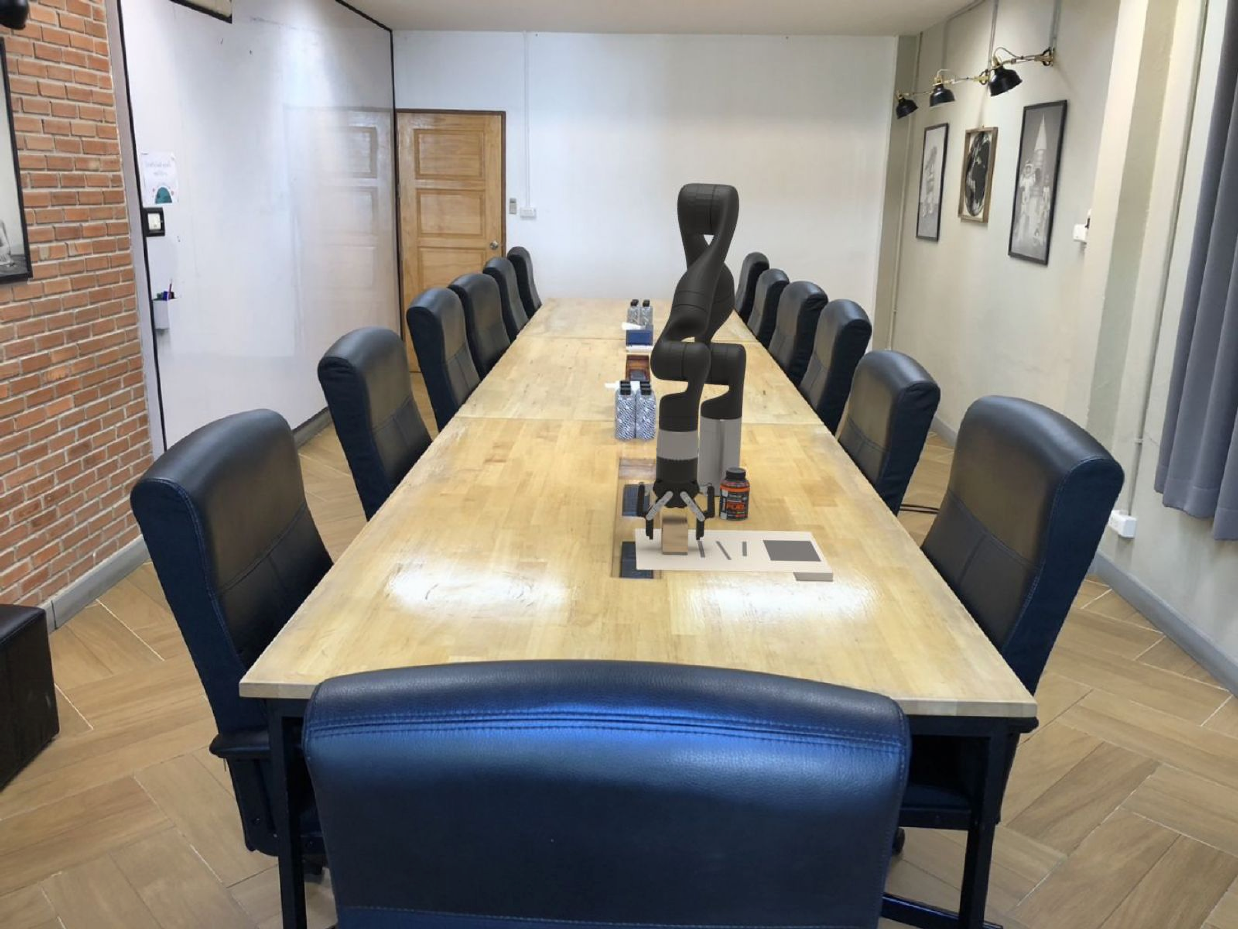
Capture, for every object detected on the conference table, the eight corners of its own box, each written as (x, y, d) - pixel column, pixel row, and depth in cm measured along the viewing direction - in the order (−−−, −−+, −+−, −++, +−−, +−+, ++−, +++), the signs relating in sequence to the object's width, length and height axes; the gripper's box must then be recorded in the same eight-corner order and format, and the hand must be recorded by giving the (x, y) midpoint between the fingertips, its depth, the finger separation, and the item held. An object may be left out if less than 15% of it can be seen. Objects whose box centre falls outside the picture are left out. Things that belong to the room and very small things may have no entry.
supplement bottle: (724, 528, 203) (727, 474, 200) (713, 519, 208) (716, 466, 205) (752, 526, 204) (755, 472, 201) (741, 517, 210) (743, 464, 207)
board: (634, 535, 198) (635, 528, 197) (809, 539, 198) (810, 531, 197) (636, 577, 176) (636, 569, 176) (832, 581, 177) (833, 572, 176)
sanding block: (661, 541, 190) (661, 513, 189) (685, 542, 190) (686, 514, 189) (662, 554, 183) (663, 525, 182) (687, 555, 183) (688, 526, 182)
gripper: (715, 448, 186) (711, 533, 190) (637, 446, 185) (635, 531, 190) (719, 458, 178) (715, 546, 182) (637, 457, 178) (635, 544, 182)
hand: (674, 538), depth 186 cm, fingers open, 8 cm apart
